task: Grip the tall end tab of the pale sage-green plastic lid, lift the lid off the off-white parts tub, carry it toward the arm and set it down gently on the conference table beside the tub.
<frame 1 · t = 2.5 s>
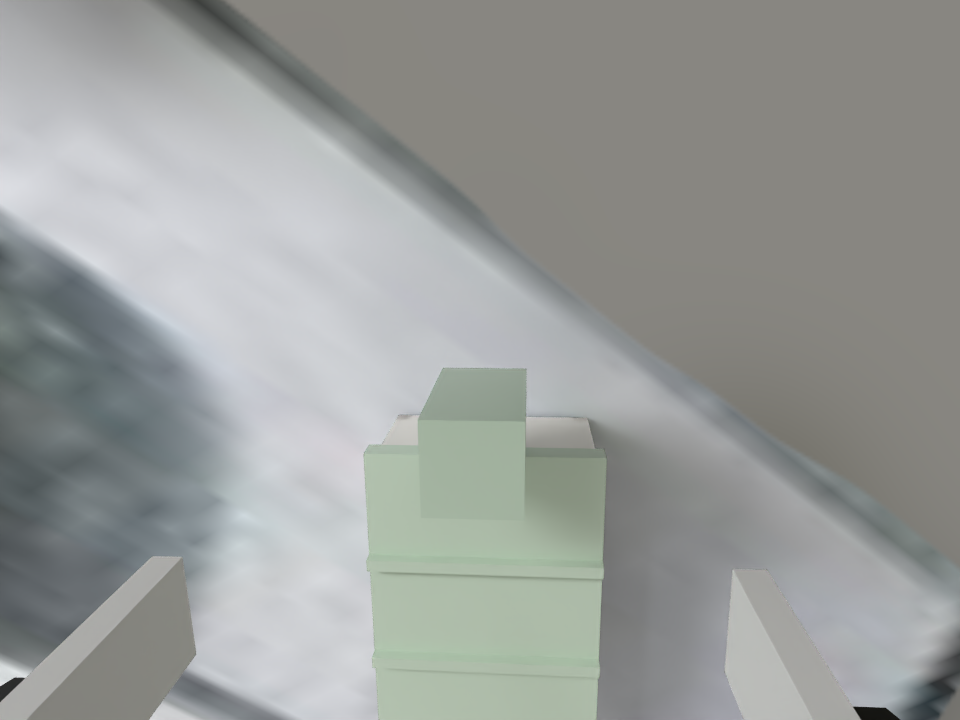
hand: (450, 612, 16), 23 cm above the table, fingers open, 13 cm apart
tub: (492, 540, 41), on the table
lid: (486, 598, 35), point 6 cm above the table, touching tub
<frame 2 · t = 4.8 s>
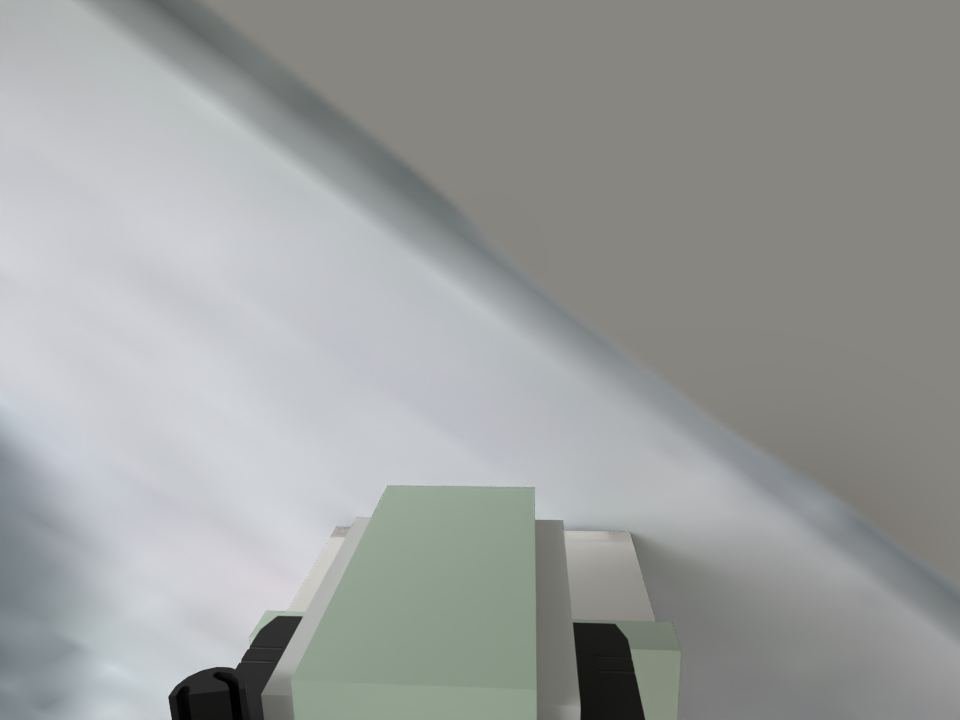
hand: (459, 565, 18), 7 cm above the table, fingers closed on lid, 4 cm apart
tub: (484, 709, 27), on the table
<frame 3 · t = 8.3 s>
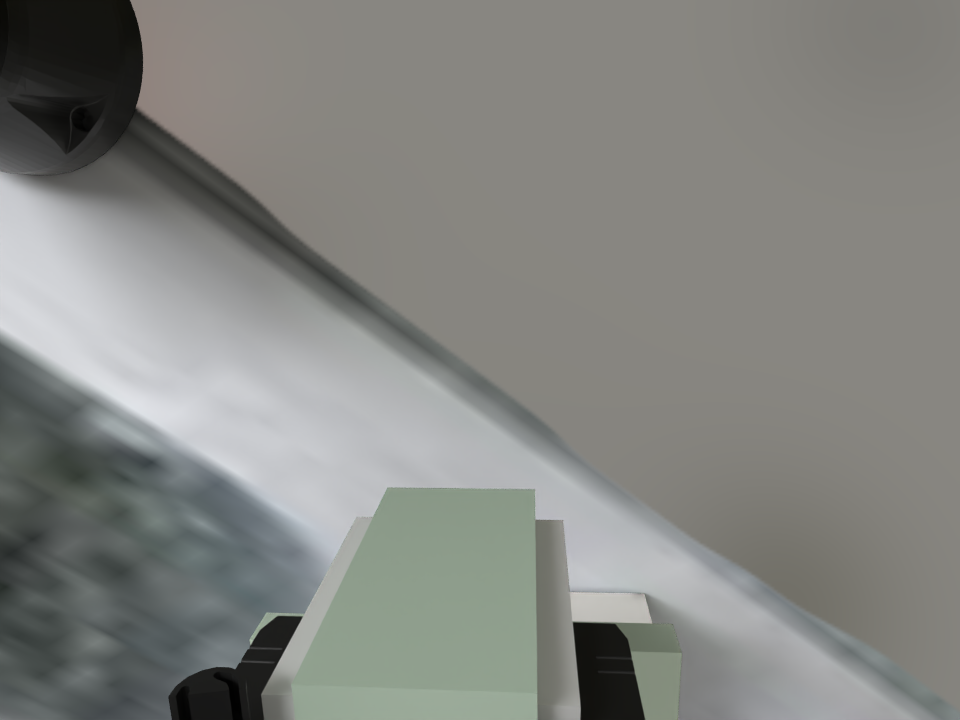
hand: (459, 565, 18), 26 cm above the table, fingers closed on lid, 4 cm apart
tub: (564, 690, 48), on the table
when the fingers open (2 cm above the table, at t = 11.8 s): lid drops 2 cm, on the table.
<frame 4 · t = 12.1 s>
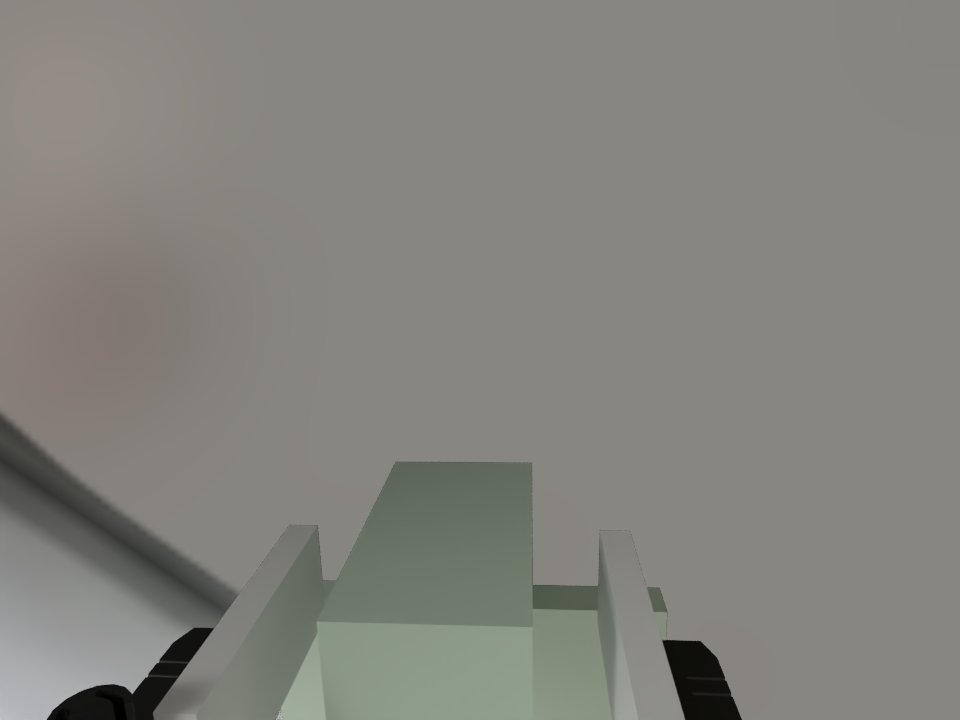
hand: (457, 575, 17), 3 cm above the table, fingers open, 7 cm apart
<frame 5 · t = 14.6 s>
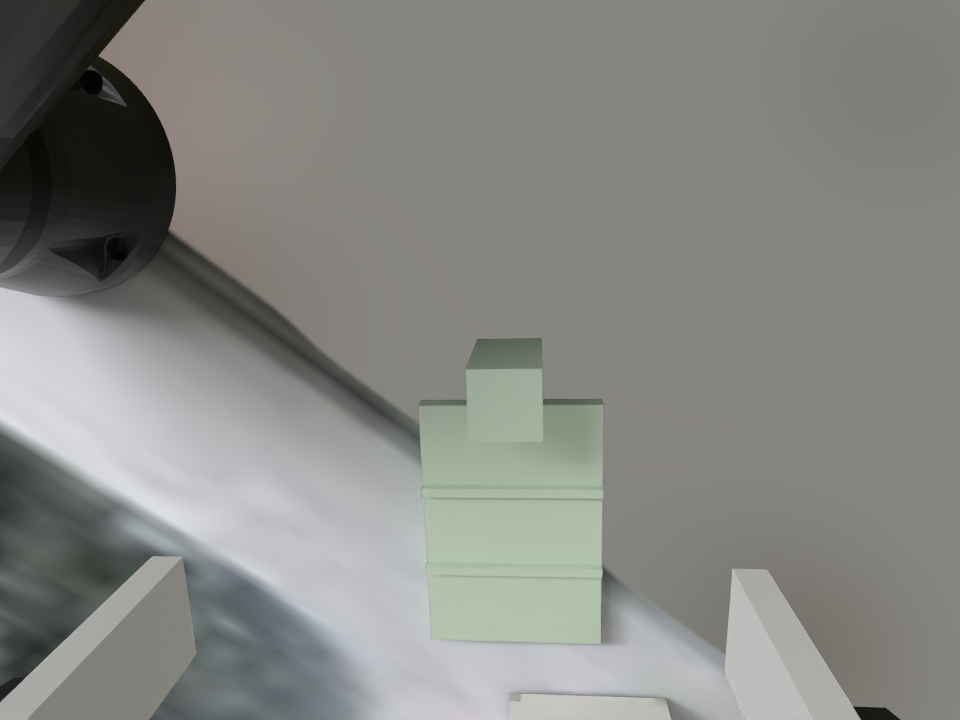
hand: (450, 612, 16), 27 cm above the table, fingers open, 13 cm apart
lid: (513, 520, 45), on the table
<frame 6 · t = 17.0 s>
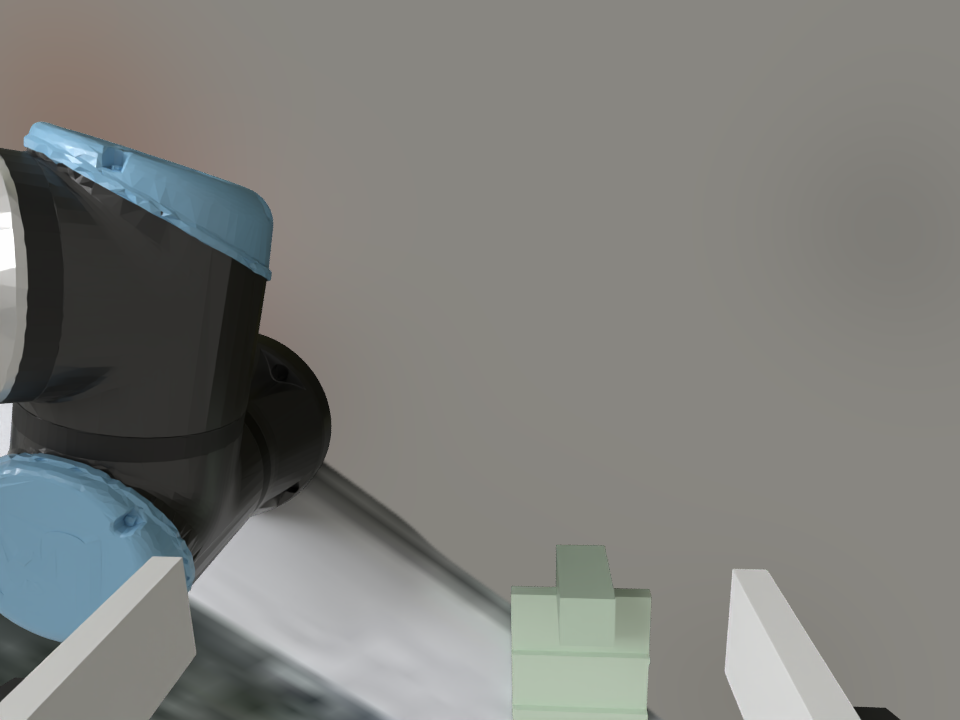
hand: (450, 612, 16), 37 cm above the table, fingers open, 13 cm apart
lid: (578, 672, 59), on the table
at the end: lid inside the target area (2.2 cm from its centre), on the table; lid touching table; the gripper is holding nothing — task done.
